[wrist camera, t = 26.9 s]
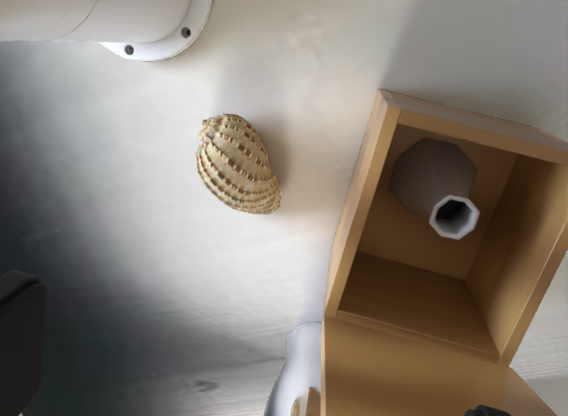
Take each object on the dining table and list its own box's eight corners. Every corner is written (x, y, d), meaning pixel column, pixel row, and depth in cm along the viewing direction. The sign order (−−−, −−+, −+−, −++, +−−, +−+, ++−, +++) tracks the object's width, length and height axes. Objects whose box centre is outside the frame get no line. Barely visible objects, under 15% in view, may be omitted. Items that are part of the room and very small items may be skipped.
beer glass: (276, 364, 51) (247, 483, 37) (288, 311, 49) (261, 417, 35) (338, 379, 51) (332, 506, 37) (353, 326, 48) (353, 441, 34)
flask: (492, 164, 40) (534, 200, 31) (442, 231, 43) (467, 282, 33) (420, 123, 40) (440, 147, 31) (374, 192, 42) (380, 233, 33)
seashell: (299, 148, 46) (215, 91, 41) (314, 179, 41) (221, 120, 36) (251, 203, 49) (167, 156, 44) (261, 239, 44) (167, 191, 39)
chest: (378, 88, 40) (387, 105, 29) (536, 128, 40) (611, 162, 28) (331, 248, 46) (322, 316, 34) (468, 286, 45) (508, 368, 33)
